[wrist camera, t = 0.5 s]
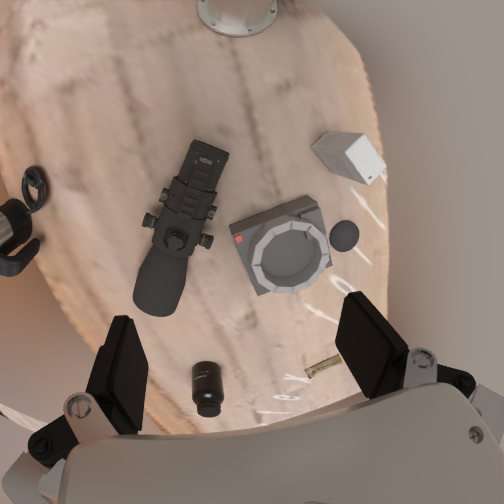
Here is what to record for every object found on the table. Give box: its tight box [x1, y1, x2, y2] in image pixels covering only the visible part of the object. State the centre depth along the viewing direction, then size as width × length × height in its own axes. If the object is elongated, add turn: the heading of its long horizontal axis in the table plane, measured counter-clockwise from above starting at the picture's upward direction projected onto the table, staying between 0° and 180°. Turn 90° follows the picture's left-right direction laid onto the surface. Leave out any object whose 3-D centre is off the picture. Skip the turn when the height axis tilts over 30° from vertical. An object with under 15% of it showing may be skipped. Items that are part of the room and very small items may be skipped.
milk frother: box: [0, 167, 44, 277], centre depth 29 cm, size 14×16×15 cm
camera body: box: [229, 196, 332, 296], centre depth 44 cm, size 12×14×8 cm
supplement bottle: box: [192, 362, 224, 417], centre depth 53 cm, size 7×7×12 cm
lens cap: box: [330, 220, 359, 252], centre depth 49 cm, size 6×6×1 cm
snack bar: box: [305, 354, 343, 379], centre depth 63 cm, size 10×2×3 cm, turn 113°
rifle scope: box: [133, 140, 229, 317], centre depth 38 cm, size 10×26×10 cm, turn 155°
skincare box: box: [311, 132, 386, 186], centre depth 37 cm, size 6×4×12 cm
